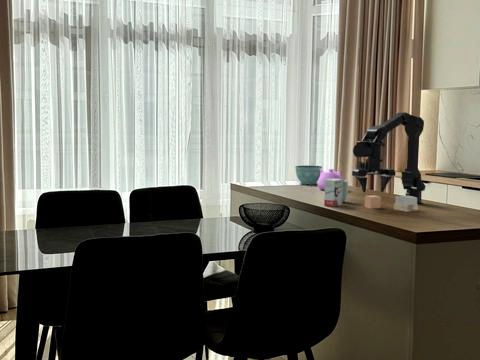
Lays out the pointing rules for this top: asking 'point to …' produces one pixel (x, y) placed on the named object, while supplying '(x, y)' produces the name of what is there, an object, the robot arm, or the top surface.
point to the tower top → (406, 200)
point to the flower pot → (308, 174)
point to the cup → (344, 190)
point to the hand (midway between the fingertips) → (373, 192)
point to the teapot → (327, 177)
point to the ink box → (333, 192)
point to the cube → (372, 201)
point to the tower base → (405, 207)
